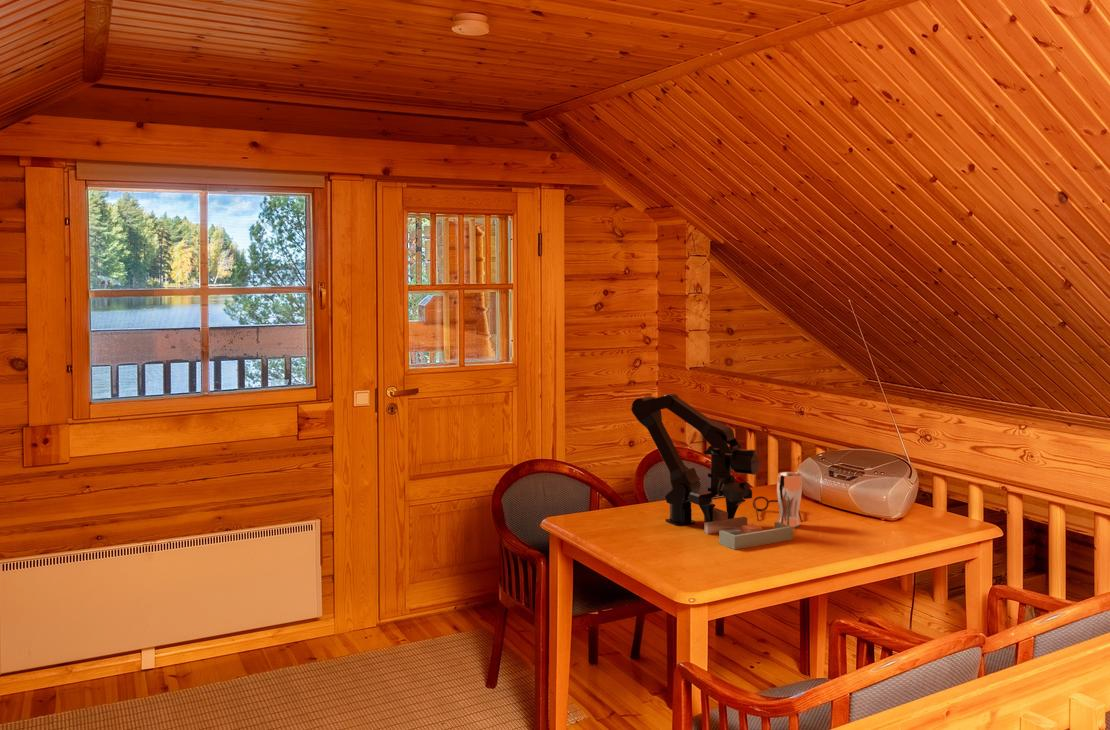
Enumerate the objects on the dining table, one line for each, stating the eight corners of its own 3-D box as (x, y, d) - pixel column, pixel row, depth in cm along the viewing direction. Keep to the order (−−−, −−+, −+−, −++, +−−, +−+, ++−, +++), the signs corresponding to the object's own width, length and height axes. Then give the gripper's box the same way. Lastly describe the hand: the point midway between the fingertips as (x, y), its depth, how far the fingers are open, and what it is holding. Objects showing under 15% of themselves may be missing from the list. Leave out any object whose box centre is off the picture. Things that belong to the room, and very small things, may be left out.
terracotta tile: (741, 534, 276) (741, 525, 276) (753, 532, 278) (753, 524, 278) (749, 538, 273) (750, 529, 272) (761, 536, 274) (761, 527, 274)
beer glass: (801, 529, 281) (802, 477, 279) (776, 528, 282) (777, 476, 281) (800, 523, 287) (801, 472, 286) (775, 521, 289) (776, 471, 287)
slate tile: (721, 537, 273) (721, 529, 273) (733, 536, 275) (733, 527, 274) (729, 541, 269) (729, 532, 269) (741, 539, 271) (741, 530, 271)
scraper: (687, 527, 284) (687, 509, 283) (726, 520, 291) (727, 504, 290) (707, 534, 276) (707, 517, 275) (747, 528, 282) (747, 510, 282)
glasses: (796, 512, 302) (796, 496, 301) (802, 523, 289) (802, 506, 288) (752, 511, 303) (752, 495, 303) (756, 522, 290) (756, 505, 290)
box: (719, 543, 266) (719, 530, 266) (777, 534, 276) (777, 521, 275) (734, 549, 261) (734, 536, 260) (793, 539, 270) (793, 526, 270)
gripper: (711, 479, 269) (711, 535, 270) (765, 472, 278) (764, 527, 279) (687, 472, 279) (687, 526, 280) (740, 465, 287) (739, 518, 289)
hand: (720, 524), depth 282 cm, fingers open, 7 cm apart
